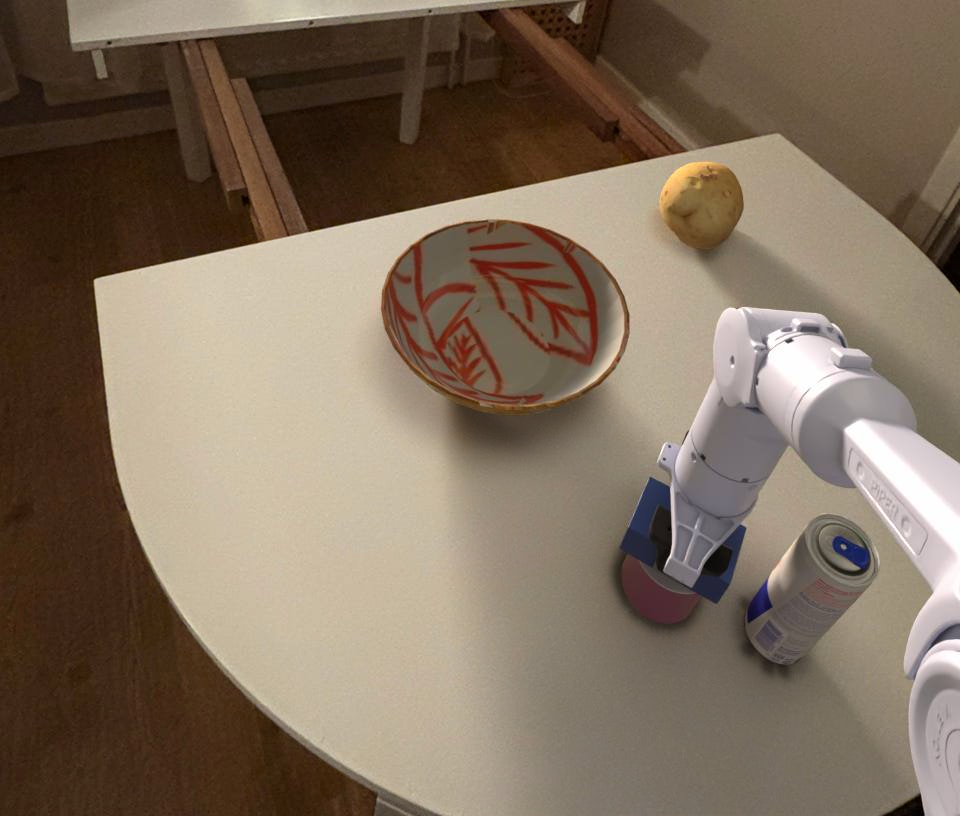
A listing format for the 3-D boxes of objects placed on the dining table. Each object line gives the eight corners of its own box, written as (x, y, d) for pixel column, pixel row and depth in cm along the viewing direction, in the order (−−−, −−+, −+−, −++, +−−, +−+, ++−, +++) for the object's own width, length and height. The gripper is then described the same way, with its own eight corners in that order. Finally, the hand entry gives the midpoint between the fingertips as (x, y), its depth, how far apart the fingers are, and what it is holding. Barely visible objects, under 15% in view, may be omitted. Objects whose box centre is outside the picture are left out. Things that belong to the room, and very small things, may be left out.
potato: (737, 214, 104) (760, 156, 98) (722, 273, 95) (747, 213, 88) (664, 190, 106) (682, 132, 100) (642, 245, 97) (661, 185, 91)
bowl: (555, 251, 95) (566, 202, 90) (657, 421, 77) (677, 372, 72) (356, 290, 87) (355, 239, 82) (418, 490, 69) (422, 441, 64)
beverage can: (810, 624, 63) (887, 537, 54) (795, 683, 60) (875, 600, 50) (750, 588, 65) (815, 497, 56) (732, 642, 61) (798, 556, 52)
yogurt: (712, 614, 63) (735, 581, 59) (639, 635, 61) (657, 602, 57) (675, 535, 68) (694, 500, 64) (607, 553, 66) (621, 518, 62)
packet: (733, 548, 61) (747, 526, 59) (716, 606, 58) (730, 585, 55) (640, 497, 64) (650, 474, 62) (618, 549, 60) (627, 527, 58)
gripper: (706, 344, 58) (662, 444, 66) (641, 500, 47) (600, 594, 56) (799, 387, 55) (742, 485, 64) (753, 561, 45) (692, 649, 54)
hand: (681, 539), depth 60 cm, fingers closed on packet, 5 cm apart
